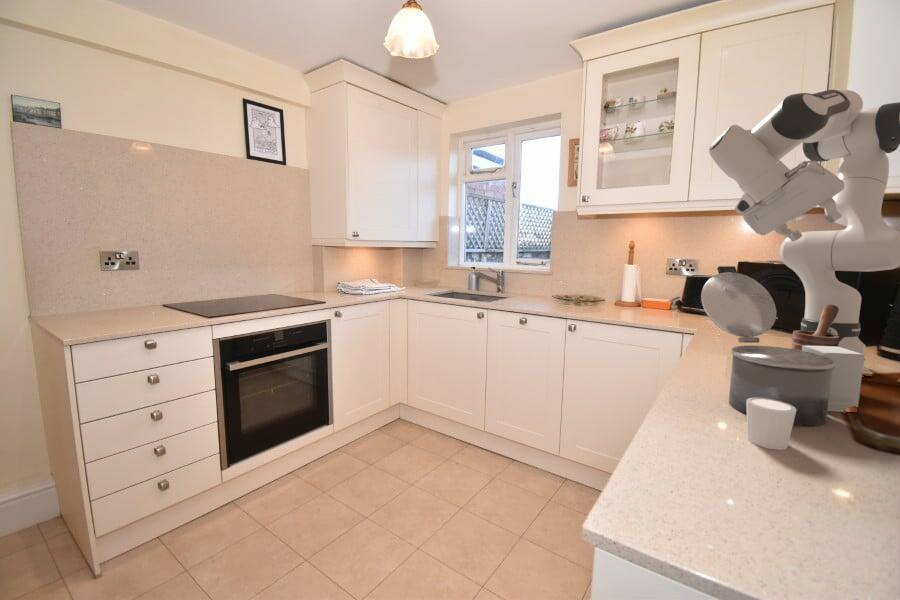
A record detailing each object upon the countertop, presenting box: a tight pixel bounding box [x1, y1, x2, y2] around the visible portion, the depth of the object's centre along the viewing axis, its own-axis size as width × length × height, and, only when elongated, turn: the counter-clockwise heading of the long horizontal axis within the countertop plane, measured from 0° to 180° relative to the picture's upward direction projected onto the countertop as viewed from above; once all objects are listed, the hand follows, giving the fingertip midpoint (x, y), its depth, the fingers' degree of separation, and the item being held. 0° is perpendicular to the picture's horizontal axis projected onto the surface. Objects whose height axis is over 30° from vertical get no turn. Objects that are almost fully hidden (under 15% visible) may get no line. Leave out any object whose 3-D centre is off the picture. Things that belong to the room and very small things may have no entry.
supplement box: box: [802, 346, 865, 413], centre depth 87 cm, size 7×7×13 cm
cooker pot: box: [728, 344, 835, 428], centre depth 84 cm, size 17×17×12 cm
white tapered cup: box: [746, 398, 796, 451], centre depth 70 cm, size 7×7×7 cm
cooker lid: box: [700, 265, 777, 344], centre depth 96 cm, size 20×17×2 cm
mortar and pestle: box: [791, 305, 839, 351], centre depth 101 cm, size 12×9×20 cm
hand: (816, 229), depth 89 cm, fingers open, 8 cm apart
